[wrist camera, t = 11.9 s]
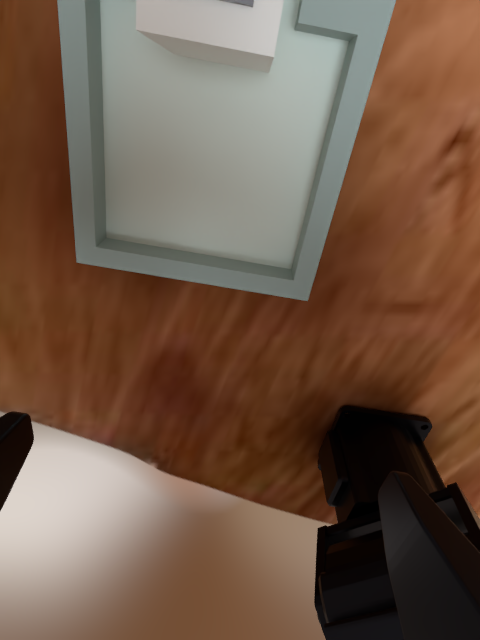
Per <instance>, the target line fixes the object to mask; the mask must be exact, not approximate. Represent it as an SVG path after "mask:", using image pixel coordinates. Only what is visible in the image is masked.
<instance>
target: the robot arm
mask: <svg viewBox="0 0 480 640" xmlns="http://www.w3.org/2000/svg"><path fill="white" fill-rule="evenodd" d="M345 413H348V414H345ZM422 425H423V426H422ZM431 428H432V424H431V422H430V420H429V419H427V418H423V417H416V416H410V415H403V414H397V413H390V412H384V411H377V410H370V409H364V408H357V407H351V406H344V407H342V408H340V410H339V412H338V414H337V417H336V419H335V421H334V424H333V426H332V429H331V430H329V431H328V432H327V434H326V437H325V439H324V441H323V444H322V446H321V449H320V451H319V460H318V468H319V470H321V472H322V478H323V483H324V489H325V495H326V500H327V503H328V504H329V506H333V507H335V510H336V515H337V520H338V523H337V524H334V525H331V526H328V527H327V526H323V527H320V528H318V534H317V554H316V578H315V608H316V611H317V615H318V620H319V622H320V624H321V627H322V630H323V633H324V635H325V638H326V640H480V519H479V518H478V516H477V514H476V513H475V511H474V510H473V508H472V506H471V505H470V503H469V502H468V500H467V499H466V497H465V495H464V494H463V492H462V491H461V489H460V487H459V486H458V484H457V483H453V484H450V485H447V488H446V487H445V485H444V483H443V481H442V479H441V477H440V475H439V473H438V471H437V469H436V467H435V465H434V463H433V461H432V459H431V457H430V455H429V453H428V451H427V449H426V447H425V445H424V443H423V441H424V440H425V438H426V437H427V435H428V433H429V432H430V430H431ZM33 440H34V435H33V429H32V424H31V418H30V416H29V415H28V414H26V413H21V412H9V413H7V414H5V415H3V416H2V417H0V510H1V509H2V507H3V505H4V503H5V501H6V499H7V497H8V495H9V493H10V491H11V489H12V487H13V484H14V482H15V480H16V478H17V476H18V474H19V472H20V470H21V468H22V466H23V464H24V462H25V459H26V457H27V455H28V453H29V451H30V449H31V447H32V444H33Z"/></svg>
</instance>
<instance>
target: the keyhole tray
mask: <svg viewBox="0 0 480 640" xmlns="http://www.w3.org/2000/svg"><path fill="white" fill-rule="evenodd" d="M57 2H58V15H59V29H60V43H61V56H62V70H63V84H64V97H65V111H66V125H67V138H68V152H69V166H70V179H71V193H72V207H73V220H74V234H75V248H76V261H77V263H82V264H88V265H94V266H100V267H106V268H112V269H118V270H124V271H130V272H136V273H142V274H148V275H154V276H160V277H166V278H172V279H178V280H184V281H190V282H196V283H202V284H208V285H214V286H220V287H226V288H232V289H238V290H244V291H250V292H256V293H262V294H268V295H274V296H280V297H286V298H292V299H298V300H304V301H308V298H309V295H310V292H311V288H312V285H313V281H314V278H315V275H316V271H317V268H318V264H319V261H320V258H321V254H322V251H323V247H324V244H325V241H326V237H327V234H328V230H329V227H330V224H331V220H332V217H333V213H334V210H335V206H336V203H337V200H338V196H339V193H340V189H341V186H342V183H343V179H344V176H345V172H346V169H347V166H348V162H349V159H350V155H351V152H352V149H353V145H354V142H355V138H356V135H357V132H358V128H359V125H360V121H361V118H362V115H363V111H364V108H365V104H366V101H367V97H368V94H369V91H370V87H371V84H372V80H373V77H374V74H375V70H376V67H377V63H378V60H379V57H380V53H381V50H382V46H383V43H384V40H385V36H386V33H387V29H388V26H389V23H390V19H391V16H392V12H393V9H394V6H395V2H396V0H284V2H283V8H282V14H281V19H280V25H279V31H278V37H277V43H276V48H275V54H274V59H273V62H272V65H271V68H270V71H269V73H267V72H262V71H257V70H252V69H246V68H241V67H236V66H231V65H226V64H221V63H216V62H211V61H206V60H200V59H195V58H190V57H185V56H180V55H175V54H173V53H171V52H170V51H168V50H167V49H165V48H164V47H162V46H160V45H159V44H157V43H156V42H154V41H153V40H151V39H149V38H148V37H146V36H145V35H143V34H142V33H140V32H138V31H137V30H136V0H57Z"/></svg>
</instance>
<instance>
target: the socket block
mask: <svg viewBox="0 0 480 640" xmlns="http://www.w3.org/2000/svg"><path fill="white" fill-rule="evenodd" d="M283 2H284V0H136V30H137V31H138V32H140V33H142V34H143V35H145V36H146V37H148V38H149V39H151V40H153V41H154V42H156V43H157V44H159V45H160V46H162V47H164V48H165V49H167V50H168V51H170V52H171V53H173V54H175V55H180V56H185V57H190V58H195V59H200V60H206V61H211V62H216V63H221V64H226V65H231V66H236V67H241V68H246V69H252V70H257V71H262V72H267V73H269V71H270V68H271V65H272V62H273V59H274V54H275V48H276V43H277V37H278V31H279V25H280V19H281V14H282V8H283Z"/></svg>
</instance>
